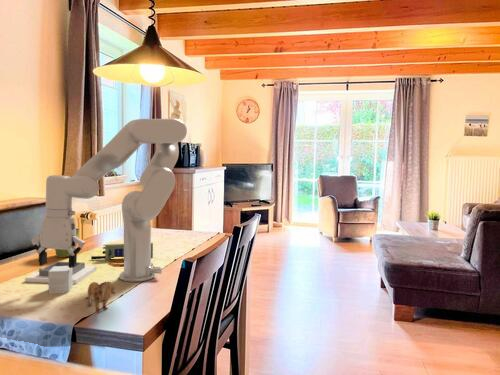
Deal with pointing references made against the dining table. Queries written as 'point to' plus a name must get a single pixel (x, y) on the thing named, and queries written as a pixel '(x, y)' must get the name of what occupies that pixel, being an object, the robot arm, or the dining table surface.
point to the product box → (60, 279)
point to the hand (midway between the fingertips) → (57, 265)
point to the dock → (78, 270)
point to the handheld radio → (115, 251)
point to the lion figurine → (100, 294)
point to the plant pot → (65, 253)
